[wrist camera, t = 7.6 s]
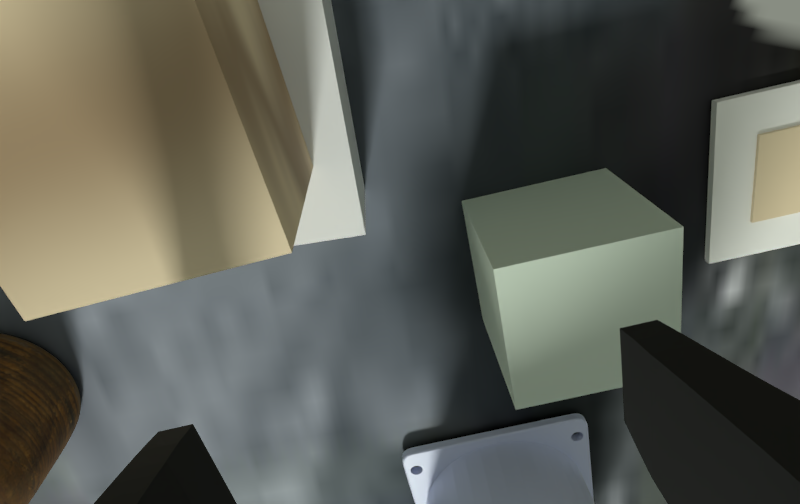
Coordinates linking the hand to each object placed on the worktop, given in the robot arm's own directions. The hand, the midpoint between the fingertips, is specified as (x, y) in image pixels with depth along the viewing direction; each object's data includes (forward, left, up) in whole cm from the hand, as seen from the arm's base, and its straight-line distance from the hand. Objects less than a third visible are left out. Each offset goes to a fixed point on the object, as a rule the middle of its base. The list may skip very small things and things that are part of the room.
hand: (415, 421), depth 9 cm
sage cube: (-3, -5, -10) cm, 12 cm away
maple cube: (+5, +4, -7) cm, 9 cm away
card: (-2, -14, -10) cm, 17 cm away
